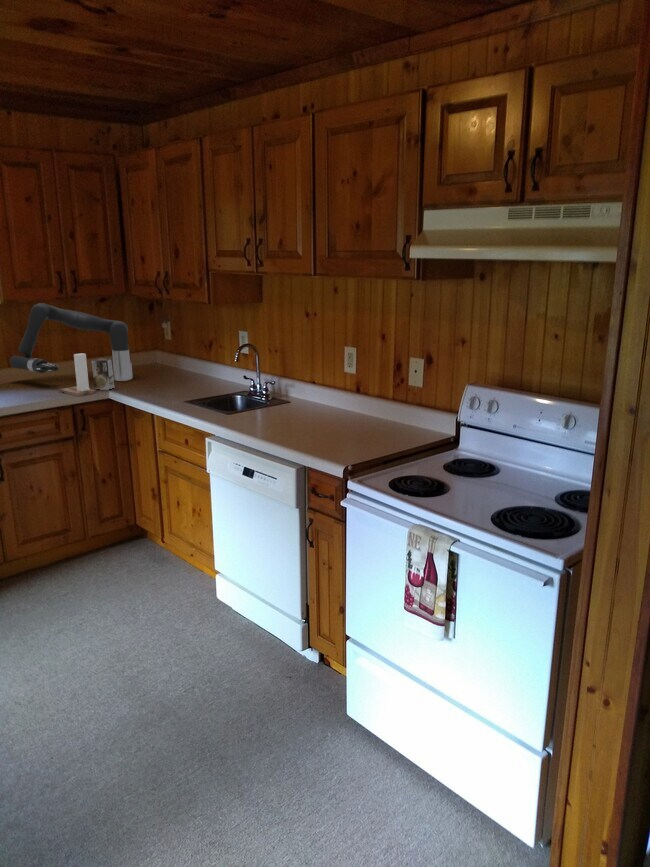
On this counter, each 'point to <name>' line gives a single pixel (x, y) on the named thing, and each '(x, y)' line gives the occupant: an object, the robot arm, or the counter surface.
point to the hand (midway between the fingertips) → (57, 368)
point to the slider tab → (81, 372)
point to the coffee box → (103, 374)
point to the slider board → (77, 393)
